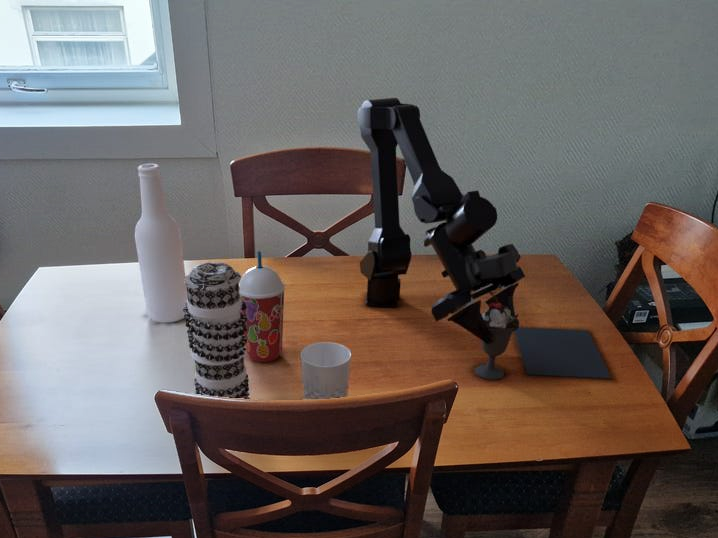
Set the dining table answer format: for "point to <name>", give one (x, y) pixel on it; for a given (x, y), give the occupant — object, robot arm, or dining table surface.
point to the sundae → (496, 337)
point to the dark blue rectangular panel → (560, 353)
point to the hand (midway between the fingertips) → (502, 336)
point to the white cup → (325, 370)
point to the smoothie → (263, 311)
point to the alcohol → (159, 251)
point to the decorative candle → (217, 330)
